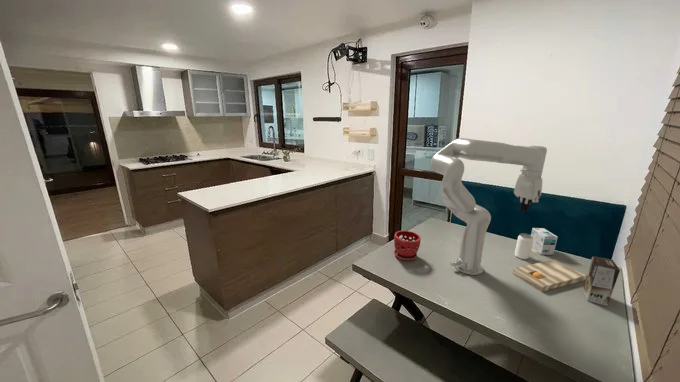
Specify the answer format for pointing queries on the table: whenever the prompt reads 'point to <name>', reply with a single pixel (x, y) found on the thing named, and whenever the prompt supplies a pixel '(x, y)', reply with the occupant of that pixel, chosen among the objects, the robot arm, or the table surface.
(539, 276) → the ball
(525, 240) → the can
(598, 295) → the coffee box
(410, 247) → the plant pot
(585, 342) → the table surface
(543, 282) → the board
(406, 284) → the table surface
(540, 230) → the light bulb box
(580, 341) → the table surface
